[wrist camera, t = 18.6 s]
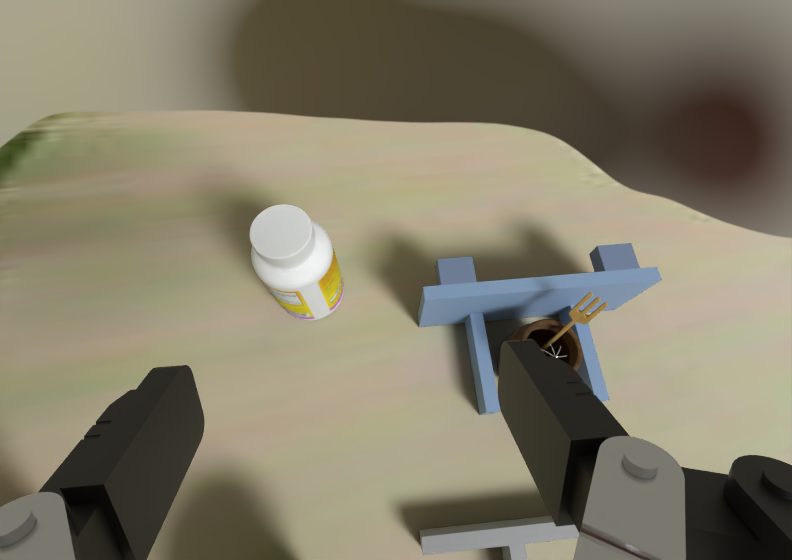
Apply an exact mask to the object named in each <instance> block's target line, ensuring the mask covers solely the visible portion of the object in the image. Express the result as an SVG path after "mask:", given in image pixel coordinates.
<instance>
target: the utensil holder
mask: <svg viewBox="0 0 792 560" xmlns="http://www.w3.org/2000/svg"><path fill="white" fill-rule="evenodd" d="M592 296H593V293H592V292H589V293H588V294H587V295H586V296H585V297H584V298H583V299H582V300H581V301H580V302H579V303H577V304H576V305H575V306H574V307H573V308H572V309H571V310H570V311H569V315H570V317H571V318H572V320H571V321H570V322H569V323H568V324H567V325H565V324H563V323H561V322H559V321H556V320H551V319H543V320H539V321H535V322H533V323H531V324H527V325H524V326H522V327H521V328H519V329H518V330H516V331H515V332H514V333H513V334H512V335H511V336H510V337H509V338H508V339H507V340H506V341H511V340H524V339H533V340H534V341H535V342H536V343H537V344H538V346H539V347H540V348H541V350H542V351H543V352H544V354H545V355H546V356H547V357H551V356H556V357H557V358H559V359H560V360H562V361H563V362H565V363H567V364H568V365H570V366H571V367H573V368H574V370H575V371H577V370H578V368H579V367H580V365H581V362H582V356H583V352H582V346H581V343H580V340H579V338H578V337H577V335H576V334H575V333H574V331H573V330H572V329H571V328H570V327H571V326H572V325H574V324H575V323H581V324H587V323H588V322H589V321H591V320H592V319H593V318H594V317H595V316H596V315H597V314H599V313H600V312H601V311H602V310H603V309H604V308H605V307H607V306H608V303H607V302H604V303H603V304H602V305H601V306H599V307H598V308H597V309H596V310H595V311H594V312H592V313H591V314H590V315H586V313H587V312H588V311H589V310H590V309H591V308H592V307H593V306H595V305H596V304H597V303H598V302H599V301H600V300H601V299H600V298H599V297H597V298H595V299H594V300H593V301H592V302H591V303H590V304H589V305H588V306H587V307H585V308H584V309H583V310H579V308H580V307H581V306H582V305H583V304H584V303H585V302H586V301H587V300H588V299H589V298H590V297H592ZM500 354H501V348H500V350H499V353H498V358H497V365H498V370H499V367H500Z"/></svg>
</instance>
